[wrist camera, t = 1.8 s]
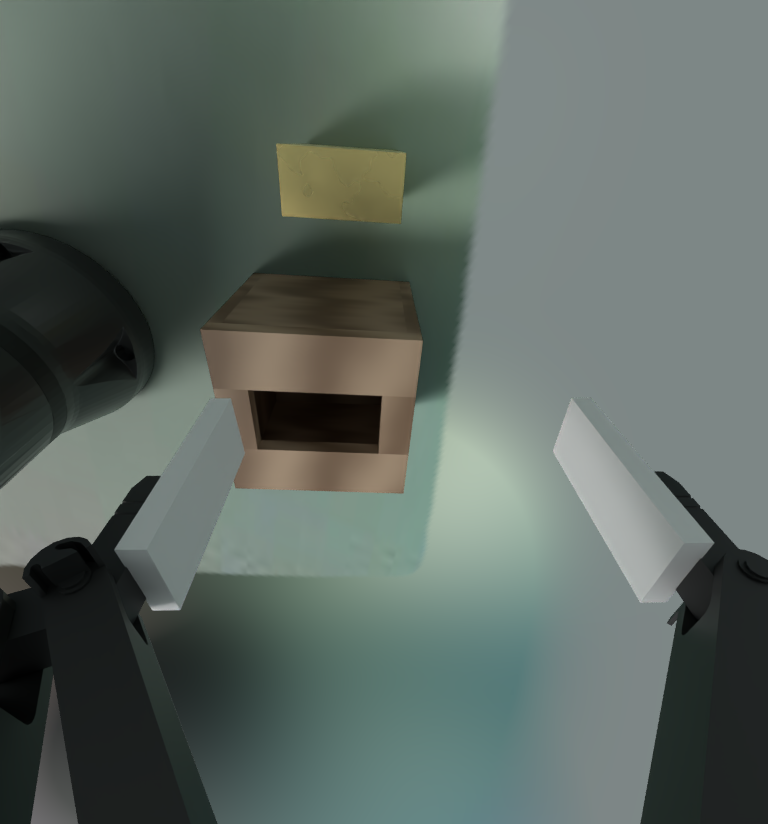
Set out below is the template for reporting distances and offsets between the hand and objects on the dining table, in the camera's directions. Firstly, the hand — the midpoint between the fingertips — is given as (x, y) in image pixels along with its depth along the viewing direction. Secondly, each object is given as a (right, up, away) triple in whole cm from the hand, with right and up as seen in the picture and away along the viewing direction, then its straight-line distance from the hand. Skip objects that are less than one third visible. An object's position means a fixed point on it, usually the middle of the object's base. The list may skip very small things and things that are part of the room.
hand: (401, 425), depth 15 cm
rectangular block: (-3, +17, +11) cm, 20 cm away
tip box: (-5, +6, +18) cm, 20 cm away
